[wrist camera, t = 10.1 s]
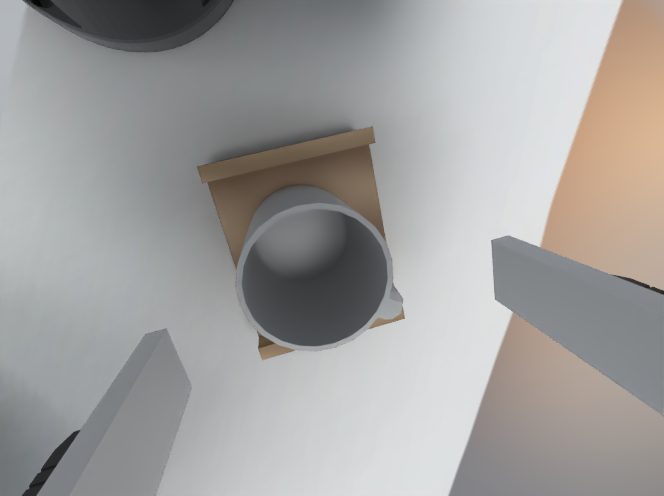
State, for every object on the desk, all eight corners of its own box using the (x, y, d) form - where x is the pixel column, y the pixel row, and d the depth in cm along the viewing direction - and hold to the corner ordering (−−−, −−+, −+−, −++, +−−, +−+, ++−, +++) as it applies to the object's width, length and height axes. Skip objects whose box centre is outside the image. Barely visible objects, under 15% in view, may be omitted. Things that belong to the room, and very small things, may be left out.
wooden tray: (210, 163, 24) (196, 166, 20) (355, 130, 25) (372, 126, 21) (263, 328, 28) (262, 360, 24) (385, 294, 29) (404, 318, 25)
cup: (281, 163, 22) (286, 170, 14) (399, 234, 25) (465, 276, 16) (230, 254, 23) (206, 314, 15) (349, 312, 26) (386, 390, 18)
